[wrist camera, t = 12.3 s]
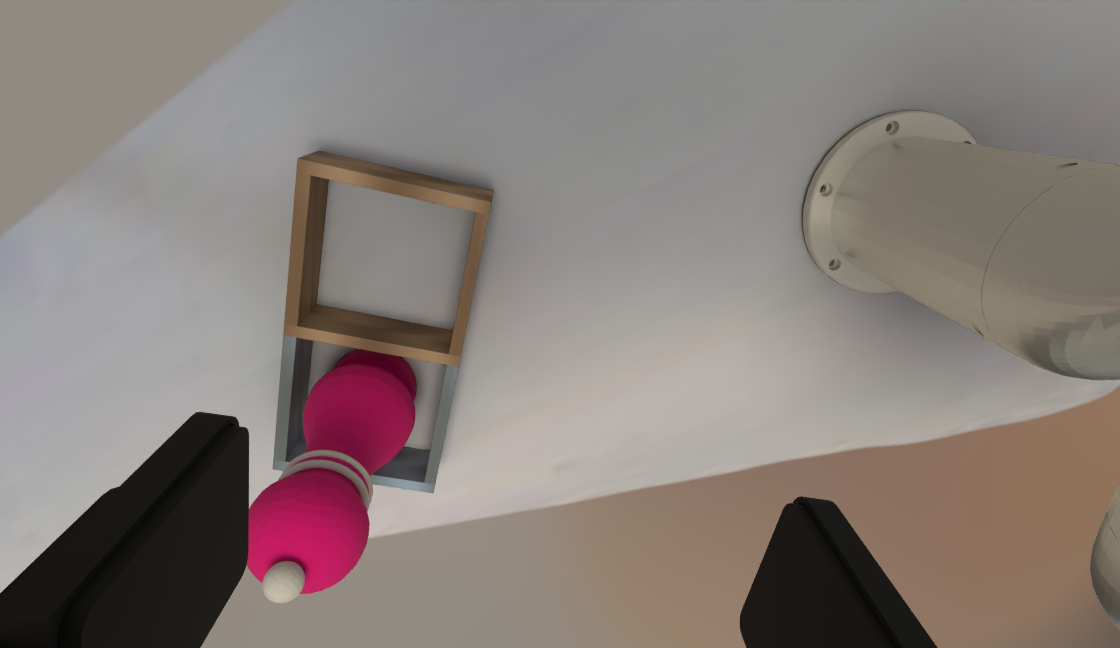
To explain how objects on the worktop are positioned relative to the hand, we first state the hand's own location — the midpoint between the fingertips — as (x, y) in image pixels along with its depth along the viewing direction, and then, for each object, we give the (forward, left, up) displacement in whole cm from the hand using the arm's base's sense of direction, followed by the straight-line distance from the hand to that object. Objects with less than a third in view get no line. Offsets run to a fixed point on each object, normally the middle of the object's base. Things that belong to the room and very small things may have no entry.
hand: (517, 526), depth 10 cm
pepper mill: (+7, +16, -33) cm, 37 cm away
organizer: (+7, +11, -32) cm, 35 cm away
